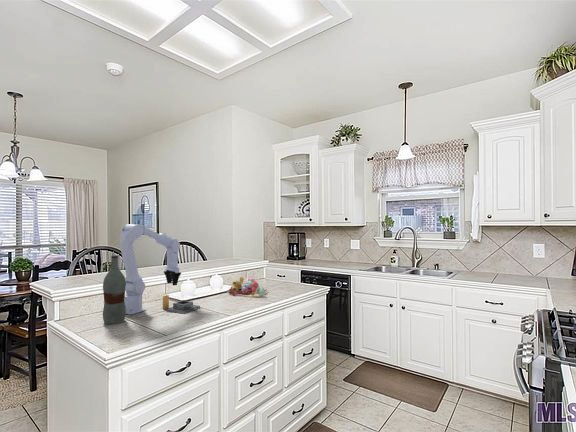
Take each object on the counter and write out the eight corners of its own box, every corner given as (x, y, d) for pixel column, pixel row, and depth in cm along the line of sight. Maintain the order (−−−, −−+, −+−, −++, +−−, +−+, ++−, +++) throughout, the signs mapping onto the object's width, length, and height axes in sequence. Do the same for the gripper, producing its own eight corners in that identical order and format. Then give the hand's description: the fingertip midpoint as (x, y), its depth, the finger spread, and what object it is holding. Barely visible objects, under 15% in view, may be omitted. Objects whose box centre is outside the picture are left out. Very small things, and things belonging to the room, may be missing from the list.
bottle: (100, 325, 144) (100, 257, 144) (105, 319, 153) (105, 255, 153) (123, 324, 146) (123, 256, 147) (127, 318, 155) (127, 254, 156)
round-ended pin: (165, 309, 169) (165, 296, 169) (161, 309, 170) (161, 295, 171) (170, 308, 172) (170, 295, 172) (165, 307, 173) (165, 294, 173)
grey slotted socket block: (187, 314, 161) (187, 307, 162) (165, 310, 167) (165, 304, 167) (203, 308, 172) (203, 301, 172) (182, 305, 178) (182, 298, 178)
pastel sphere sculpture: (221, 295, 202) (221, 280, 202) (238, 288, 225) (238, 274, 225) (259, 298, 195) (259, 282, 195) (273, 290, 217) (273, 276, 217)
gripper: (184, 260, 183) (184, 285, 183) (173, 258, 194) (173, 281, 194) (172, 261, 179) (171, 286, 178) (162, 259, 190) (161, 283, 189)
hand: (172, 284), depth 186 cm, fingers open, 7 cm apart
